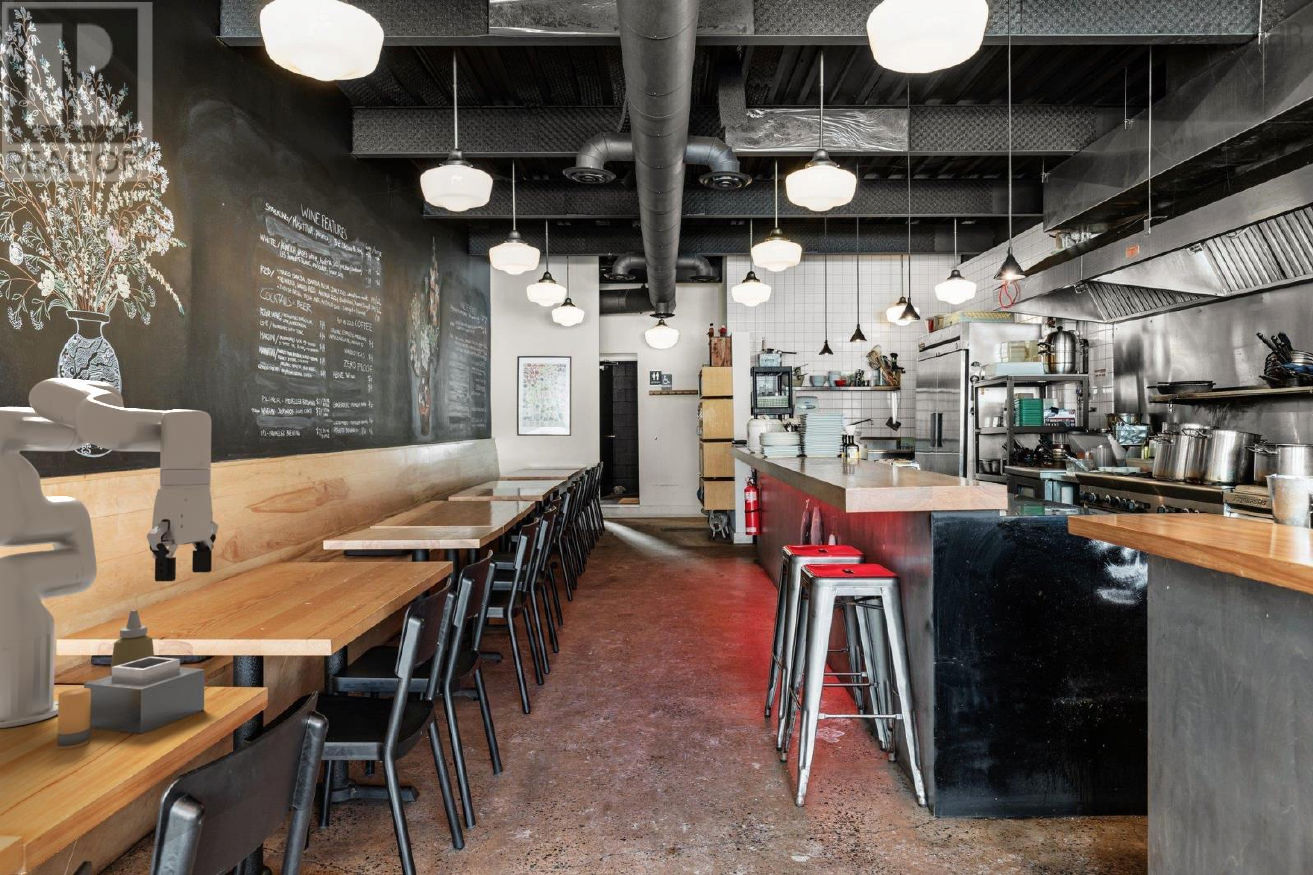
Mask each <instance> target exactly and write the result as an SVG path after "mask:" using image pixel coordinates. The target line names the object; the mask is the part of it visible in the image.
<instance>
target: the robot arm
mask: <svg viewBox="0 0 1313 875" xmlns="http://www.w3.org/2000/svg"><path fill="white" fill-rule="evenodd" d="M28 403H29V406H30V407H23V406H22V407H20V406H19V407H18V406H15V407H14V406H5V407H0V547H2V548H3V547H5V548H17V547H30V546H31V547H32V546H40V545H48V544H49V545H50V544H52V546H53V549H49V550H38V551H30V552H21V553H20V552H19V553H14V554H8V555H5V556H3V557H0V729H3V728H12V727H19V726H24V725H28V724H34V723H36V722H37V723H38V722H41V721H44V720H47V719H49V718H53V717H55V716H58V700H54V698H55V697H54V696H55V695H54V694H55V655H56V654H55V650H56V649H55V648H56V647H55V644H56V640H55V639H56V625H55V620H54V617H53V615H52V613H51V612H50V610H48V609H47V607H46V606H45V605H44V604H43V602H42V601H45V600H48V599H53V598H59V597H64V596H70V595H71V596H72V595H77V594H80V593H83V592H85V591H87V590H88V589H90V588H91V587H92V586H93V585H94V583H95V581H96V579H97V578H96V577H97V571H98V570H97V569H98V566H97V565H98V564H97V558H96V551H95V550H96V548H95V543H94V542H95V541H94V535H93V529H92V521H91V517H90V512H89V511H88V509H87V507H86V506H85V505H84V503H83V502H82V501H81V500H79V499H77V498H75V497H70V496H45V495H44V494H43V491H42V485H41V477H40V474H39V472H38V470H37V469H36V467H34V466H33V464H32V463H31V462H30V461H29V460H28V459H27V458H26V457H25V456H23V455H22V454H21V453H20V452H21V451H24V452H25V451H29V452H30V451H31V452H70V451H71V452H72V451H75V450H78V449H80V448H82V447H84V446H86V445H87V444H90V445H93V446H97V447H99V448H102V449H106V450H109V451H115V452H151V453H153V452H155V453H156V452H157V453H159V452H160V461H159V462H160V465H159V469H160V470H159V488H157V491H156V495H155V499H154V505H153V512H152V522H151V523H152V525H151V530H150V531H149V532H148V533H147V534H146V540H147V541H148V544H149V549H150V552H152V558H153V559H154V581H155V582H175V581H176V577H177V576H176V575H177V574H176V573H177V568H176V567H177V557H176V556H174V555H175V553H176V551H177V549H178V547H179V546H182V545H183V546H185V545H189V544H192V545H193V547H194V549H193V550H192V566H191V567H192V569H191V570H192V573H210V572H212V561H213V560H212V558H213V556H212V554H213V553H212V551H213V550H214V548H215V547H214V546H215V545H214V542H216V539H217V536H216V535H217V533H218V529H219V524H217V523H216V522H215V521H213V518H214V517H213V502H212V492H211V482H212V481H211V479H212V478H211V477H212V476H211V474H212V473H211V472H212V470H211V468H212V467H211V466H212V418H211V416H210V414H209V413H208V412H206V411H203V410H195V409H172V410H170V409H169V410H157V409H147V408H146V409H144V408H142V409H141V408H131V407H130V408H128V407H127V408H125V405H124V399H123V396H122V394H121V392H120V390H118V389H117V387H115V386H113V385H112V384H110V383H107V382H101V381H95V380H94V381H93V380H85V379H84V380H83V379H73V378H59V377H54V378H49V379H45V380H42V381H39V382H38V383H36V384H35V385H34V386H33V387H32V388H31V390H30V392H29V395H28ZM167 547H168V548H167Z"/></svg>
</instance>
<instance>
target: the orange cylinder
mask: <svg viewBox="0 0 1313 875" xmlns="http://www.w3.org/2000/svg"><path fill="white" fill-rule="evenodd" d="M57 697H58V699H57V701H58V714H57V732H56V733H57V734H56V745H57V748H56V749H59V750H71V749H75V748H80V747H82V746H85V745H87V744H89V743H90V742H91V728H90V704H91V689H89V688H84V687H81V688H74V689H68V690H65V691H62V692H60V693H59V694H58V696H57Z"/></svg>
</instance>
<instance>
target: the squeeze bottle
mask: <svg viewBox="0 0 1313 875" xmlns="http://www.w3.org/2000/svg"><path fill="white" fill-rule="evenodd" d="M129 611H130V612H129V614H128V619H127V622H126V626H125V627H122V628H121V629H119V637H120V638H118V639H117V640H116V641H115V642H113V649H112V656H111V663H110V664H111V665H110V671H109V676H112V667H114V666H118V665H121V664H125V663H129V662H132V661H136V660H139V659H143V658H147V657H155V652H154V642H153V638H152V637H151V636H149V635H147V634H148V626H146V625H142V624H141V619H140V615H139V611H138V610H137V609H134V610H133V609H132V610H129Z"/></svg>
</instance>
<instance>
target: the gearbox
mask: <svg viewBox="0 0 1313 875" xmlns="http://www.w3.org/2000/svg"><path fill="white" fill-rule="evenodd" d="M180 662H181V659H180V658H171V657H159V656H154V657H147V658H143V659H139V660H136V661H132V662H129V663H125V664H121V665H118V666H114V667H112V676H110V675H109V676H105V677H102V678H99V679H98V678H97V679H94V680H92V681H91V680H90V681H88V682H83V683H84V684H83V688H89V689H91V704H90V729H98V730H105V731H111V732H120V733H127V734H135V735H136V734H137V735H142V734H145V733H147V732H150V731H152V730H156V729H158V728H161V727H164V726H166V725H168V724H171V723H174V722H177V721H179V720H182V719H184V718H187V717H191V716H193V715H195V714H197V712H198V713H200V712H202V711H201V710H203V711H205V676H206V674H205V669H202V668H195V667H183V666H182V667H181V665H180ZM199 711H200V712H199ZM192 714H193V715H192Z"/></svg>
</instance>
